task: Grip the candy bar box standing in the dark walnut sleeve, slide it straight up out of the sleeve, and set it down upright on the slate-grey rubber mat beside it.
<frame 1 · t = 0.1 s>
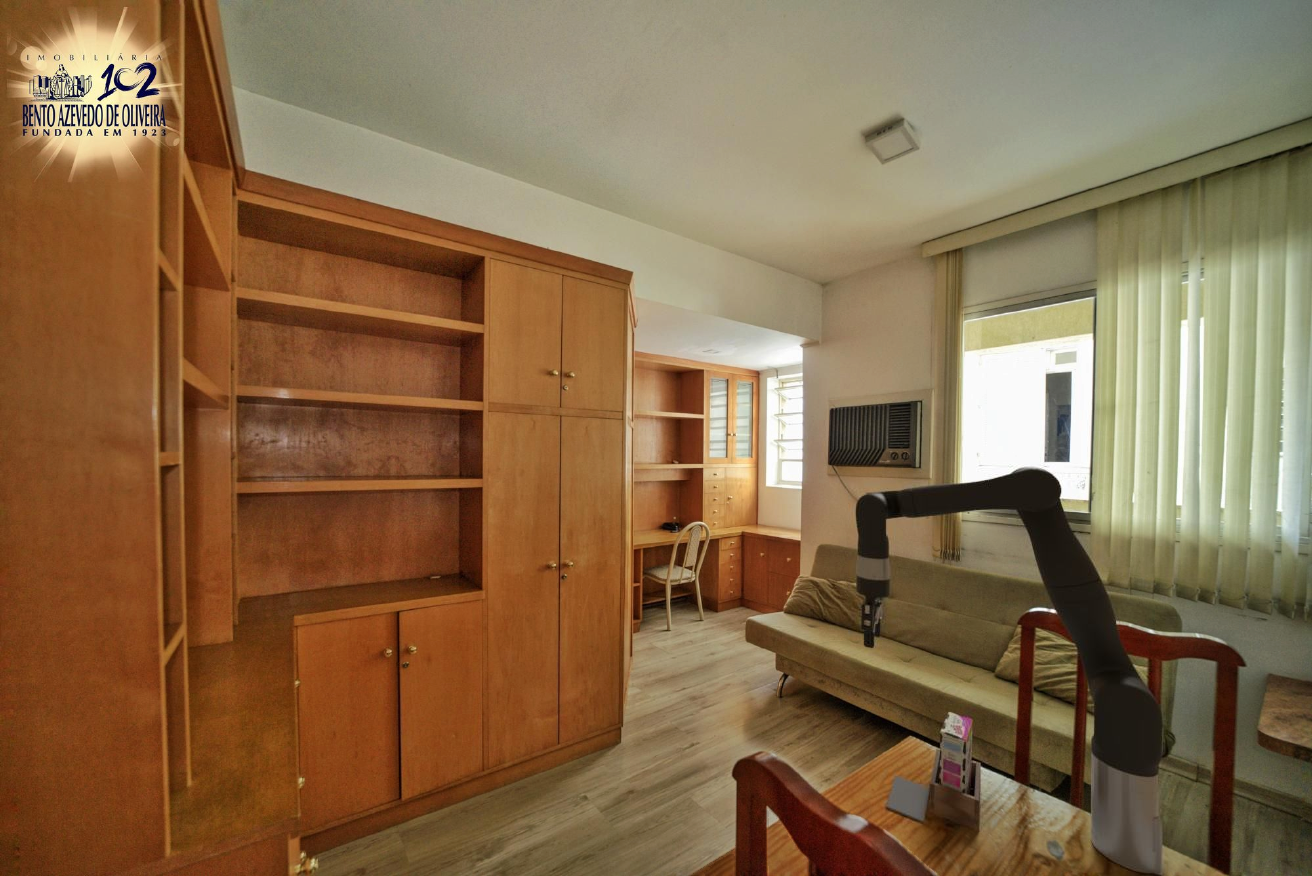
hand: (872, 641, 118), 29 cm above the table, tool pointing down, fingers open, 8 cm apart
walnut sleeve: (956, 800, 105), on the table
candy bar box: (955, 802, 105), resting in walnut sleeve
grey mat: (908, 798, 105), on the table
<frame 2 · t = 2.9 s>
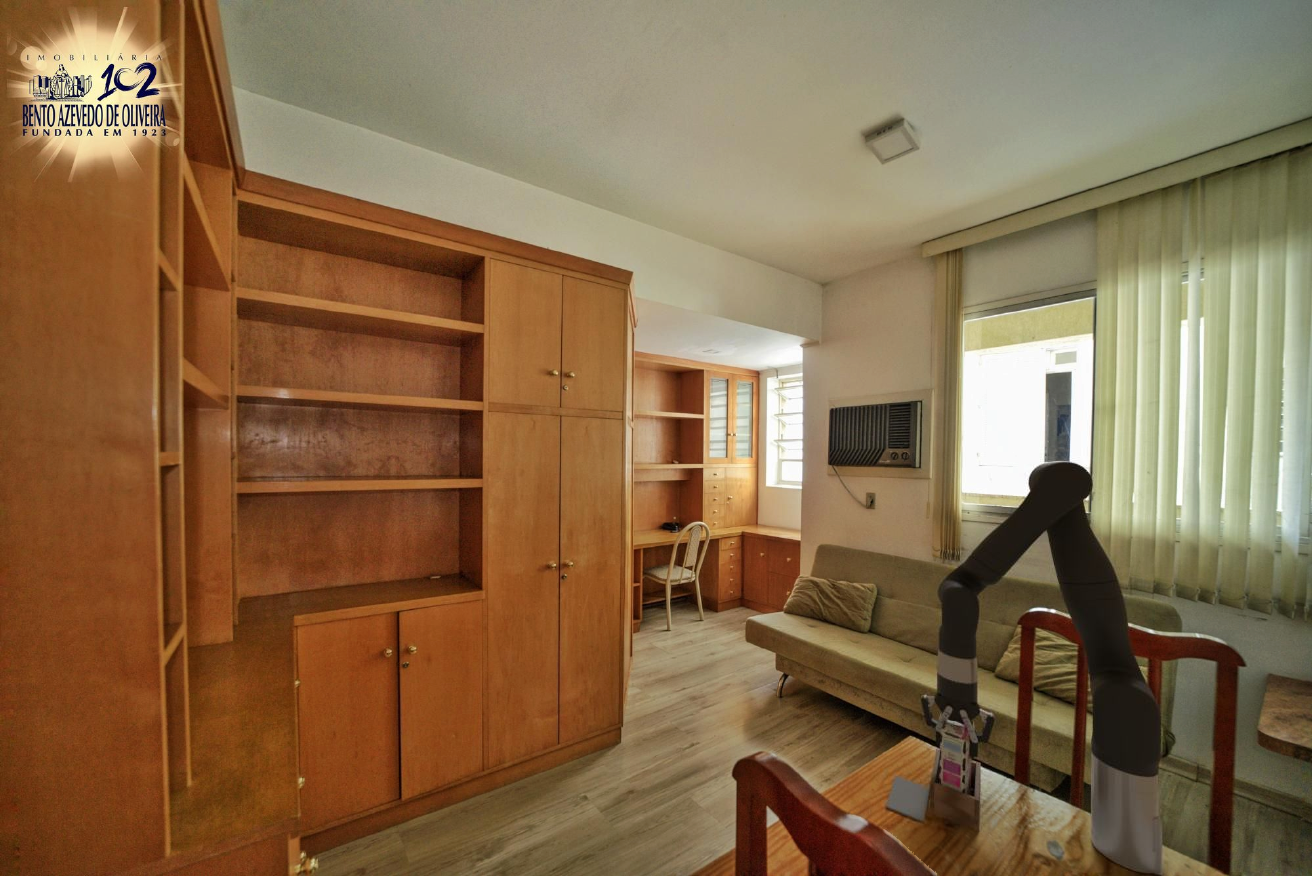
hand: (956, 752, 105), 10 cm above the table, tool pointing down, fingers closed on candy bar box, 5 cm apart
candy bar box: (956, 801, 105), resting in walnut sleeve, touching gripper
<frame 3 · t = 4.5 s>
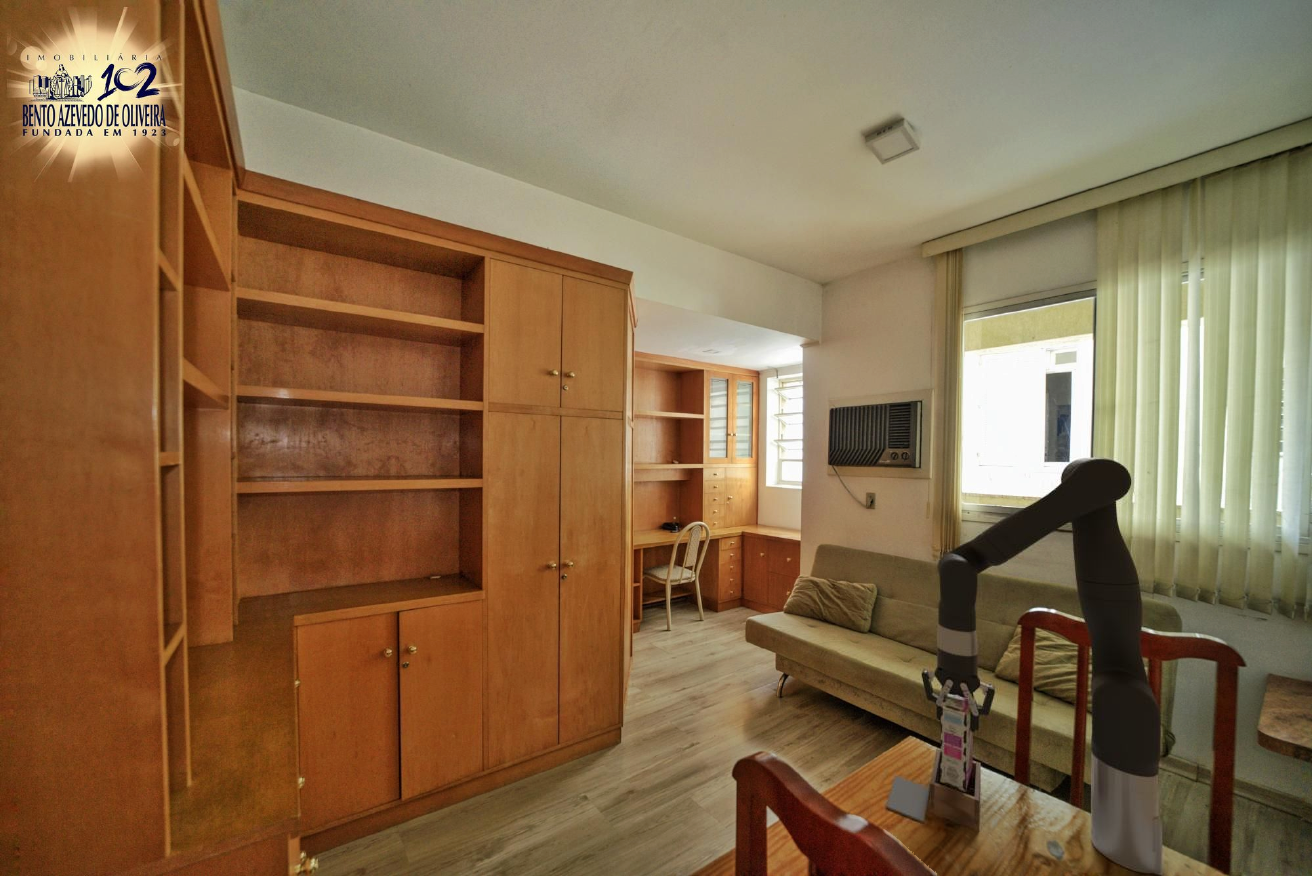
hand: (957, 725, 105), 16 cm above the table, tool pointing down, fingers closed on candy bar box, 5 cm apart
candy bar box: (957, 776, 105), point 5 cm above the table, touching gripper
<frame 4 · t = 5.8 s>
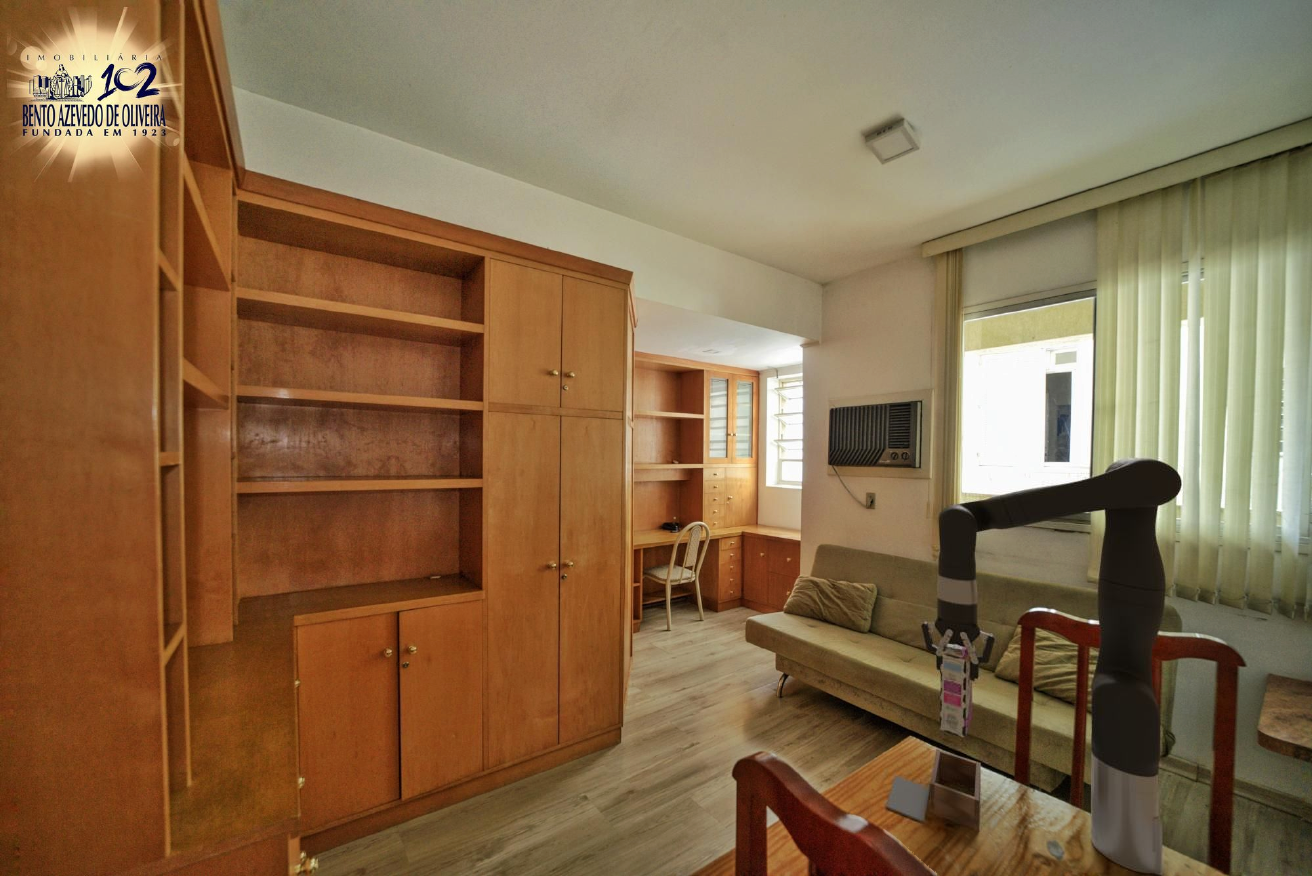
hand: (957, 675, 106), 27 cm above the table, tool pointing down, fingers closed on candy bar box, 5 cm apart
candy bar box: (957, 725, 105), point 16 cm above the table, touching gripper
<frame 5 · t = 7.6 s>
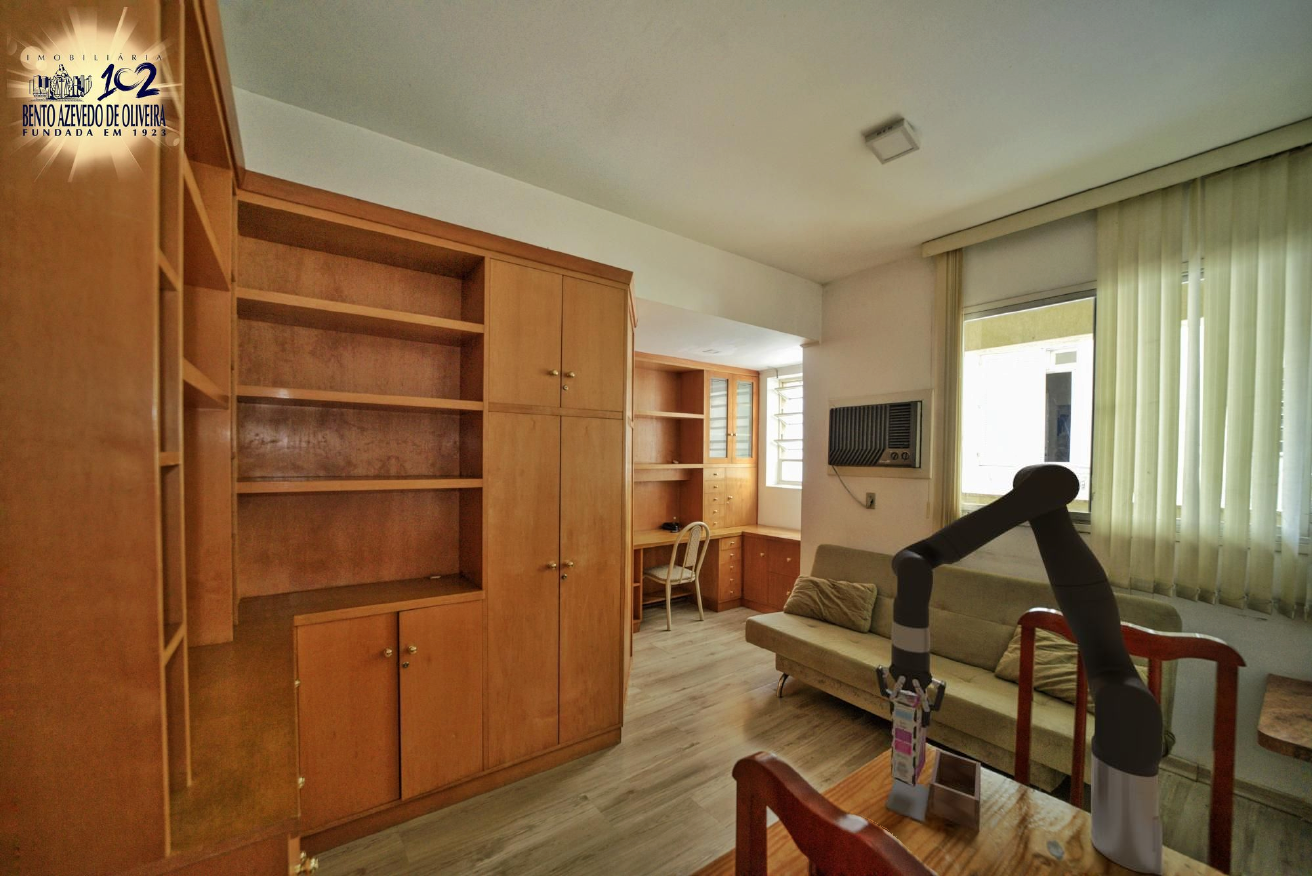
hand: (909, 721, 106), 17 cm above the table, tool pointing down, fingers closed on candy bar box, 5 cm apart
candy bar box: (909, 771, 105), point 6 cm above the table, touching gripper
when the fingers open (12 cm above the table, at t = 9.0 s): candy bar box drops 1 cm, resting on grey mat.
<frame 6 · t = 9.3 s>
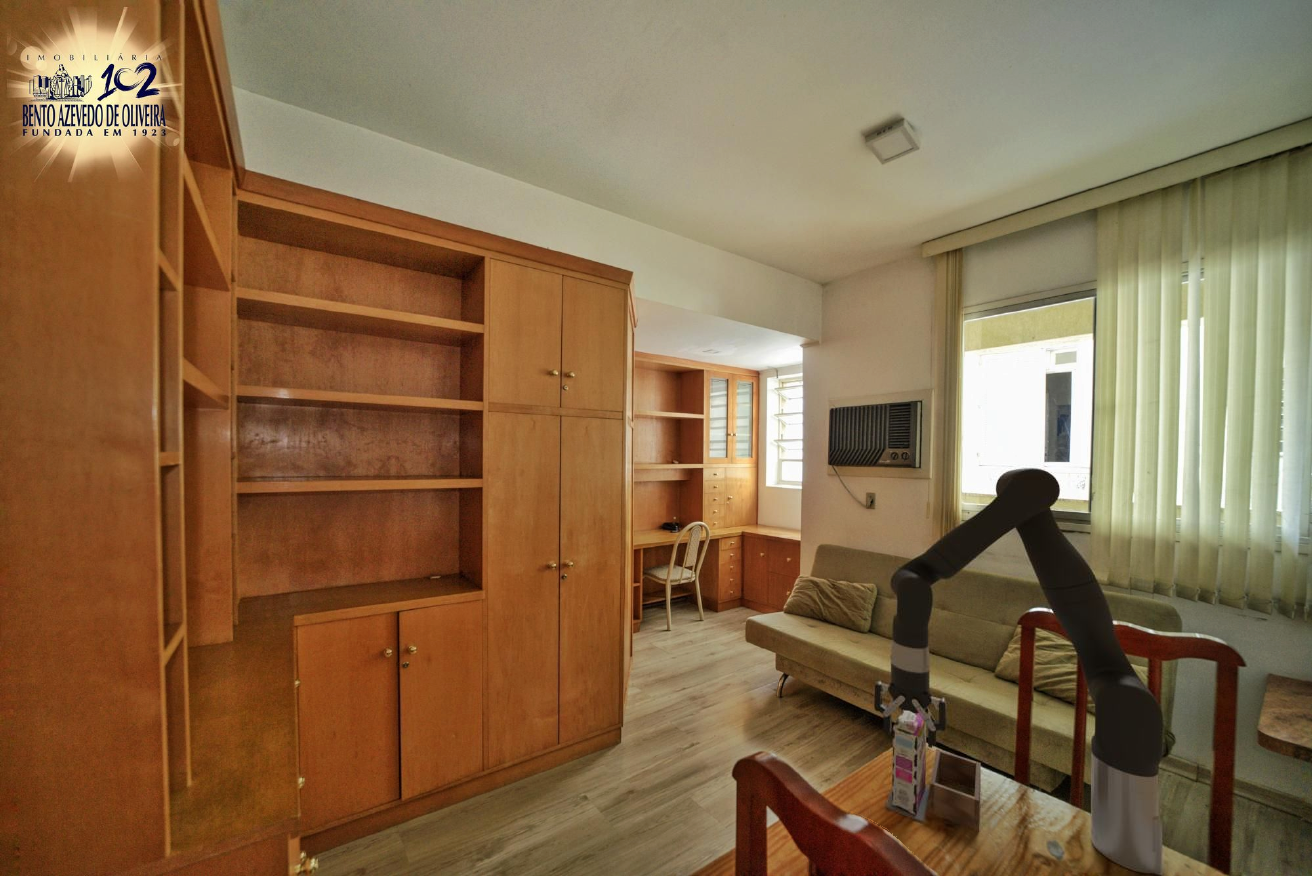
hand: (909, 738, 106), 13 cm above the table, tool pointing down, fingers open, 7 cm apart
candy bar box: (909, 798, 105), resting on grey mat
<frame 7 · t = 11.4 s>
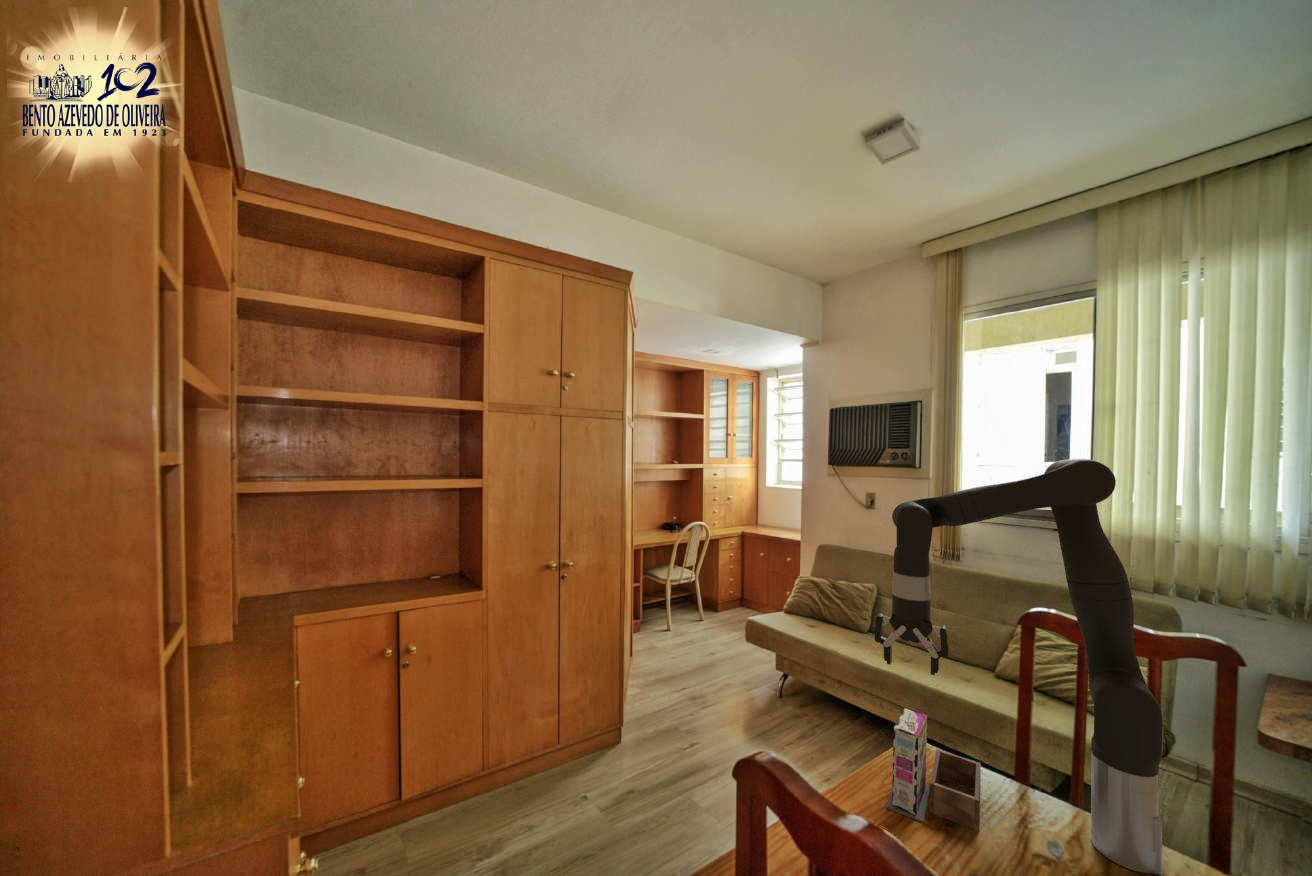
hand: (910, 668, 106), 28 cm above the table, tool pointing down, fingers open, 8 cm apart
nothing on the table moved.
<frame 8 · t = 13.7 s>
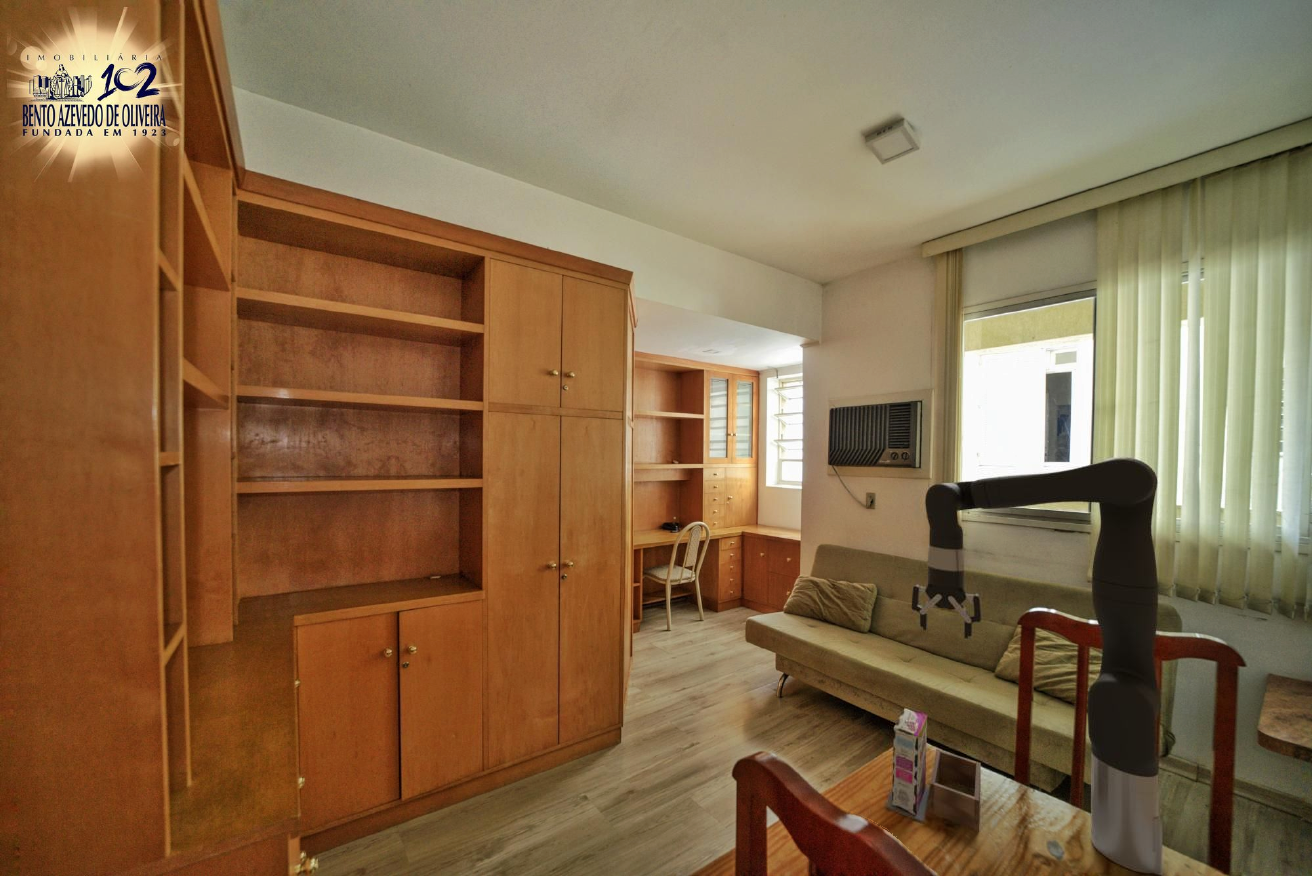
hand: (945, 633, 116), 32 cm above the table, tool pointing down, fingers open, 8 cm apart
nothing on the table moved.
at the end: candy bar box inside the target area on the grey mat (0.2 cm from its centre), point 0.2 cm above the grey mat's base; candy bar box tilted 0°; the gripper is holding nothing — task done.
